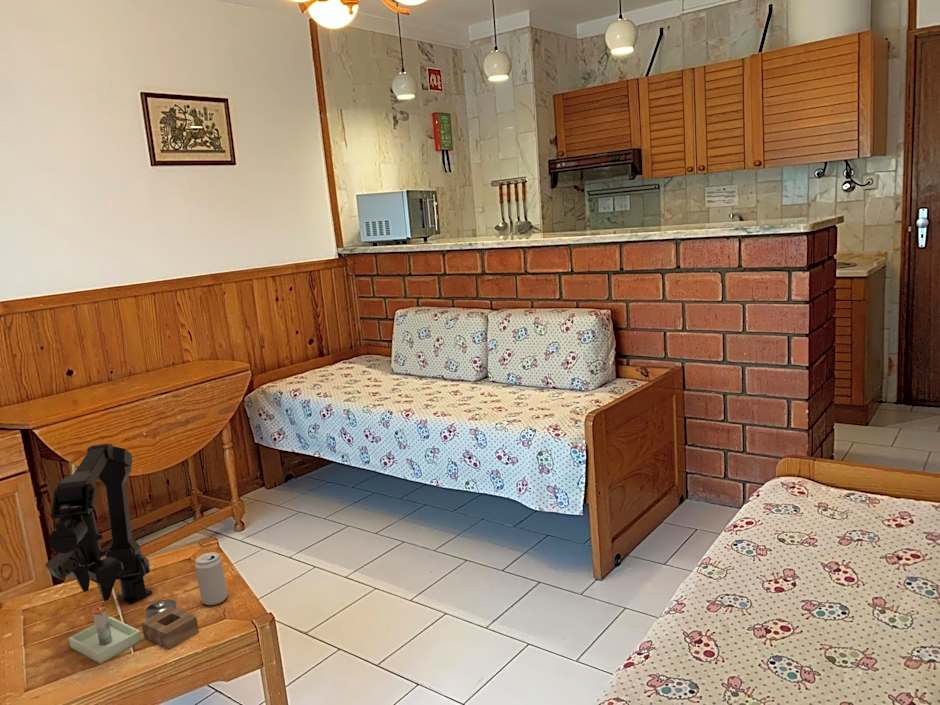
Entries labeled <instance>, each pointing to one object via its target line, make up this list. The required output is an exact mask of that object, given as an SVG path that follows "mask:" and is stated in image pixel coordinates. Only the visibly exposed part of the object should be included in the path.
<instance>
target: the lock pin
mask: <svg viewBox="0 0 940 705" xmlns="http://www.w3.org/2000/svg"><path fill="white" fill-rule="evenodd" d="M106 607H107V606H106V604H104V603H100V604H97V605H95V606H93V607H92V608H91V611H92V615H93V619H94V620H93V621H94V625H95V626H96V631H97V635H98V640H99V645H101V646H104V645H108V644H110V643H111V642H112V635H111V631H110V626H109V621H108V617H109V616H108V612H107V608H106Z"/></svg>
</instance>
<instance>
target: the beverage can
mask: <svg viewBox="0 0 940 705" xmlns="http://www.w3.org/2000/svg"><path fill="white" fill-rule="evenodd" d="M222 561H223V560H222V557H220V554H219V553H218V552H216V551H215V552H211V551H210V552H206V553H203V554H201V555H199V556H198V557H197V558H196V559H195V565H194V568H195V572H196V579H197V584H198V589H199V594H200V601H201V603H202V604H204V605H206V606H217V605H219V604H221V603H223V602H224V601H225V600H226V598H227V597H228V590H227V589H228V588H227V585H226V578H225V571H224V568H223V567H224V565H223V562H222Z"/></svg>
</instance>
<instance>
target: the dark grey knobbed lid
mask: <svg viewBox="0 0 940 705" xmlns="http://www.w3.org/2000/svg"><path fill="white" fill-rule="evenodd" d="M171 606H173V607H175V608H177V609H178V605H177V602H176V600H175V599H170V598H168V599H167V598H166V599H161V600H157V601H155V602H153V603H151V604H150V605H148V606H147V607H146V609H145V613H146V620H147V619H149V618H150V617H152V616H154V615H156V614H158V613H160V612H162V611H163V610H165V609H167V608H169V607H171Z"/></svg>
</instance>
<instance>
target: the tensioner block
mask: <svg viewBox="0 0 940 705" xmlns="http://www.w3.org/2000/svg"><path fill="white" fill-rule="evenodd" d="M141 628H142V633H143V637H144V639H146V640H147V641H150V642H152V643H154V644H156V645H158V646H160V647H161V648H165V649H167V650H168V649H169V650H170V648H171V649H172V648H174V647H175V645H176V646H177V645H179V644H181V643H183V642H184V641H186V640H188V639H190V638H191V637H193V636H194V635H195V634H198V633H199V632H200V630H199V625H198V620H197V616H196V615H194V614H192V613H189V612H186V611H184V610H182V609H179V608H178V607H177V608H175V607H173V606H171V607H169V608H167V609H165V610H163V611H162V612H160V613H158V614H156V615H154V616H152V617H150V618H149V619H147V618H146V619H145V620H143V621H141Z"/></svg>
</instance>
